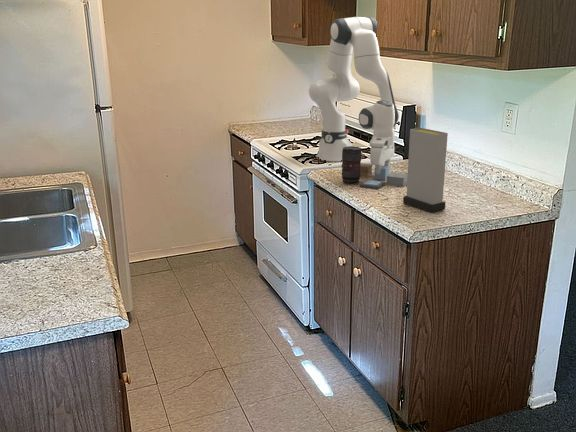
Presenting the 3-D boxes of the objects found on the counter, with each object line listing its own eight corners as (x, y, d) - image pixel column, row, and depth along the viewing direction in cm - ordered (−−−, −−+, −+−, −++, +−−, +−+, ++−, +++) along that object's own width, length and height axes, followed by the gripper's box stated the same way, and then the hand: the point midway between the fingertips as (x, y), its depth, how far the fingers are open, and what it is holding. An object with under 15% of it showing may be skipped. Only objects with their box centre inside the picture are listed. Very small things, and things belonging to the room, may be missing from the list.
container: (417, 206, 228) (411, 127, 222) (454, 210, 212) (449, 126, 207) (402, 209, 224) (397, 130, 219) (440, 214, 208) (434, 128, 203)
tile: (366, 182, 252) (367, 179, 252) (384, 184, 248) (384, 181, 248) (359, 187, 245) (359, 183, 245) (378, 189, 242) (378, 185, 241)
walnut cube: (361, 174, 266) (361, 163, 264) (371, 175, 264) (372, 164, 262) (357, 176, 262) (357, 165, 260) (367, 177, 260) (368, 166, 258)
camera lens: (359, 185, 248) (360, 150, 243) (340, 184, 249) (341, 149, 245) (361, 180, 255) (362, 146, 251) (342, 179, 257) (343, 145, 252)
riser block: (391, 181, 254) (391, 172, 253) (407, 183, 252) (407, 173, 250) (386, 185, 248) (387, 176, 247) (403, 187, 246) (403, 177, 244)
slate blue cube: (378, 176, 262) (378, 165, 261) (389, 177, 260) (389, 166, 258) (374, 178, 258) (374, 167, 257) (385, 180, 256) (385, 168, 254)
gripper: (384, 135, 264) (383, 165, 268) (367, 143, 246) (367, 175, 251) (398, 136, 261) (397, 166, 265) (382, 144, 244) (381, 177, 248)
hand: (382, 171), depth 258 cm, fingers open, 8 cm apart
